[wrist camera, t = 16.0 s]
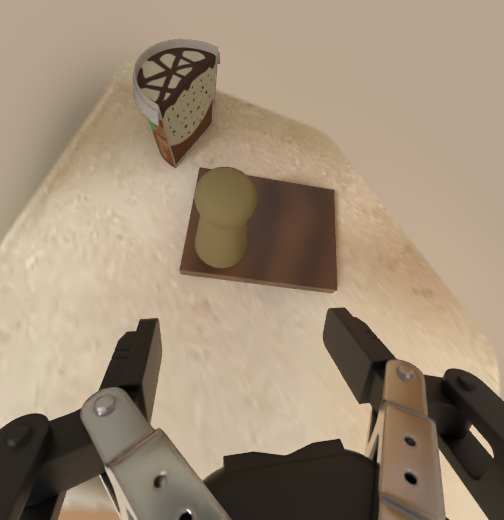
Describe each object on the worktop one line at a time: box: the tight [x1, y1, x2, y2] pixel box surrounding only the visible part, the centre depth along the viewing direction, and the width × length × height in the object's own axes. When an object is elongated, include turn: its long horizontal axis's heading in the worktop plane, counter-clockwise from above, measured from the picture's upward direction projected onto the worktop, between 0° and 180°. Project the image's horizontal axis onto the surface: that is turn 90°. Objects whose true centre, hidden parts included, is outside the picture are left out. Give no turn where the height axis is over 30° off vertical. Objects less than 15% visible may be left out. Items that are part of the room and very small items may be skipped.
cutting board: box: [180, 168, 337, 293], centre depth 34 cm, size 18×14×2 cm
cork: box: [194, 167, 257, 268], centre depth 26 cm, size 6×6×11 cm
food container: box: [133, 39, 220, 168], centre depth 33 cm, size 12×6×10 cm, turn 151°
